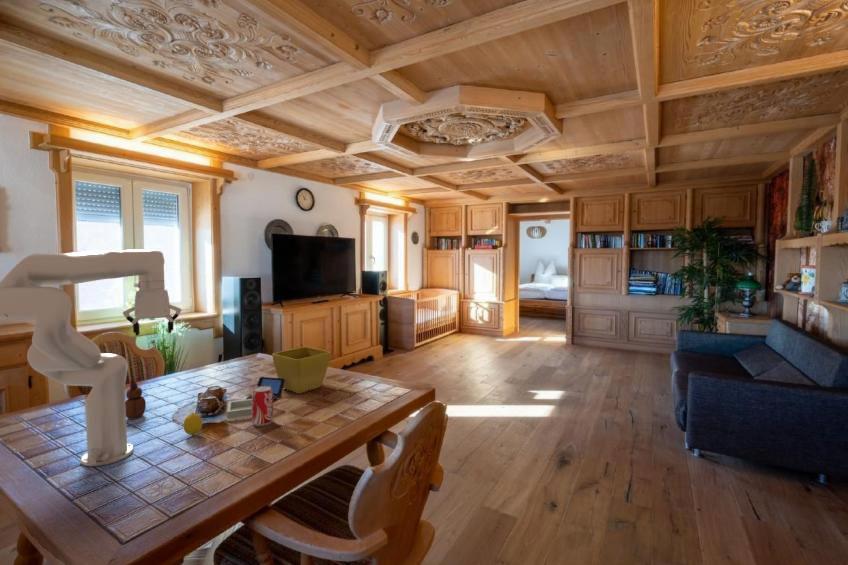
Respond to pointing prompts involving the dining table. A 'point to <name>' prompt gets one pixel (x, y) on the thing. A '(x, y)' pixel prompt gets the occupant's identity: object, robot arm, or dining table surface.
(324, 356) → the flower pot
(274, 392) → the handheld game console
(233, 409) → the holder
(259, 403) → the soda can
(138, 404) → the wooden figurine
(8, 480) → the dining table surface
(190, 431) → the lemon
